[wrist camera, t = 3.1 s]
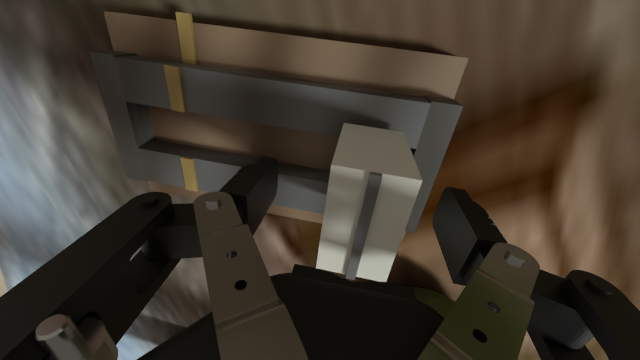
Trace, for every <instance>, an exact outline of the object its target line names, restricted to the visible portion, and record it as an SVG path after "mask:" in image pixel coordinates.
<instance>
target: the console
mask: <svg viewBox="0 0 640 360" xmlns="http://www.w3.org/2000/svg"><path fill="white" fill-rule="evenodd" d="M103 12H104V16H105V20H106V23H107V27H108V31H109V35H110V39H111V43H112V46H113V50H111V51H88V52H89V55H90V58H91V62H92V65H93V68H94V72H95V75H96V78H97V81H98V85H99V88H100V91H101V94H102V98H103V101H104V104H105V107H106V111H107V114H108V117H109V120H110V124H111V127H112V130H113V133H114V137H115V140H116V143H117V146H118V150H119V153H120V156H121V160H122V163H123V166H124V169H125V173H126V176H127V178H132V179H137V180H142V181H148V184H149V187H150V190H153V191H158V192H163V193H168V194H174V195H179V196H184V197H189V198H194V199H196V198H197V197H199V196H200V195H202V194H205V193H208V192H216V191H219V190H220V189H221V188H222V187H223V186H224V185H225V184H226V183H227V182H228V181H229V180H230V179H232V177H233V176H234V175H235V174H236V173H237V172H238V171H239V170H240V169H241V168H242V167H244V166H246V165H249V164H255V163H256V162H257V161H258V160H259V158H260V157H261V156H265V157H271V158H277V159H278V188H277V193H276V196H275V199H274V200H273V202H272V204H271V205H270V207H269V209H268V211H267V212H266V213H271V214H276V215H281V216H286V217H291V218H296V219H301V220H307V221H312V222H317V223H322V224H323V217H324V210H325V203H326V196H327V190H328V183H329V176H330V169H331V164H332V160H333V157H334V154H335V150H336V147H337V144H338V140H339V137H340V134H341V130H342V127H343V124H344V123H349V124H355V125H361V126H368V127H374V128H380V129H387V130H393V131H399V132H404V134H405V136H406V139H407V141H408V144H409V147H410V149H411V152H412V154H413V157H414V160H415V162H416V165H417V167H418V170H419V173H420V175H421V178H422V180H423V181H422V184H421V186H420V189H419V192H418V195H417V198H416V200H415V203H414V206H413V209H412V211H411V214H410V217H409V220H408V223H407V225H406V228H405V231H404V234H403V237H402V239H403V238H404V235H405V232H406V231H407V232H412V233H415V230H416V228H417V225H418V222H419V220H420V217H421V215H422V212H423V209H424V207H425V204H426V202H427V199H428V196H429V194H430V191H431V189H432V186H433V184H434V181H435V178H436V176H437V173H438V171H439V168H440V165H441V163H442V160H443V158H444V155H445V153H446V150H447V147H448V145H449V142H450V140H451V137H452V134H453V132H454V129H455V127H456V124H457V121H458V119H459V116H460V114H461V111H462V109H463V105H461V104H460V103H458V102H457V101H455V100H454V97H455V95H456V92H457V89H458V86H459V84H460V81H461V78H462V75H463V73H464V70H465V67H466V64H467V62H468V59H469V58H465V57H460V56H453V55H445V54H438V53H430V52H422V51H414V50H406V49H399V48H391V47H383V46H375V45H368V44H360V43H352V42H344V41H337V40H329V39H321V38H313V37H305V36H298V35H290V34H282V33H274V32H267V31H259V30H251V29H243V28H236V27H228V26H220V25H212V24H205V23H197V22H192V14H189V13H182V12H175V13H176V20H173V19H166V18H158V17H150V16H142V15H135V14H126V13H117V12H108V11H103Z"/></svg>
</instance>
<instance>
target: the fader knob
mask: <svg viewBox="0 0 640 360" xmlns="http://www.w3.org/2000/svg"><path fill="white" fill-rule="evenodd" d="M422 181H423V180H422V178H421V175H420V173H419V170H418V167H417V165H416V162H415V160H414V157H413V154H412V152H411V149H410V147H409V144H408V141H407V139H406V136H405V134H404V132H399V131H393V130H387V129H380V128H374V127H368V126H361V125H355V124H349V123H344V124H343V127H342V130H341V134H340V137H339V140H338V144H337V147H336V150H335V154H334V157H333V160H332V164H331V169H330V176H329V183H328V190H327V196H326V203H325V210H324V217H323V224H322V230H321V237H320V244H319V251H318V258H317V264H316V268H317V269H322V270H327V271H332V272H336V273H341V274H346V277H345V278H346V279H351V280H355V278H356V277H360V278H365V279H369V280H374V281H379V282H386V281H387V278H388V275H389V273H390V270H391V267H392V264H393V262H394V259H395V256H396V253H397V250H398V248H399V245H400V242H401V239H402V237H403V234H404V231H405V228H406V225H407V223H408V220H409V217H410V214H411V211H412V209H413V206H414V203H415V200H416V198H417V195H418V192H419V189H420V186H421V184H422Z"/></svg>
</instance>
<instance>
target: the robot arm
mask: <svg viewBox="0 0 640 360" xmlns="http://www.w3.org/2000/svg"><path fill="white" fill-rule="evenodd" d="M277 188H278V159H277V158H271V157H265V156H261V157H260V158H259V160H258V161H257V162H256V163H255V164H249V165H246V166H244V167H242V168H241V169H240V170H239V171H238V172H237V173H236V174H235V175H234V176H233V177H232V179H230V180H229V181H228V182H227V183H226V184H225V185H224V186H223V187H222V188H221V189H220V190H219V191H216V192H208V193H205V194H202V195H200V196H199V197H197V198H196V199H195V201H194V203H191V204H172V200H171V197H170V195H168V194H166V193H163V192H150V193H145V194H141V195H139V196H136V197H134V198H133V199H131V200H130V201H128V202H127V203H126V204H124V205H123V206H122V207H120V208H119V209H118V210H116V211H115V212H114V213H112V214H111V215H110V216H108V217H107V218H106V219H104V220H103V221H102V222H100V223H99V224H98V225H96V226H95V227H94V228H92V229H91V230H90V231H88V232H87V233H86V234H84V235H83V236H82V237H80V238H79V239H78V240H76V241H75V242H74V243H72V244H71V245H70V246H68V247H67V248H66V249H64V250H63V251H62V252H60V253H59V254H58V255H56V256H55V257H54V258H52V259H51V260H50V261H48V262H47V263H46V264H44V265H43V266H41V267H40V268H39V269H37V270H36V271H35V272H33V273H32V274H31V275H29V276H28V277H27V278H25V279H24V280H23V281H21V282H20V283H19V284H17V285H16V286H15V287H13V288H12V289H11V290H9V291H8V292H7V293H5V294H4V295H3V296H2V297H0V360H117V358H118V349H117V347H116V344H117V343H118V342H119V340H120V339H121V338H122V336H123V335H124V334H125V332H126V331H127V330H128V329H129V327H130V326H131V325H132V323H133V322H134V321H135V319H136V318H137V317H138V315H139V314H140V313H141V311H142V310H143V309H144V307H145V306H146V305H147V303H148V302H149V301H150V299H151V298H152V297H153V295H154V294H155V293H156V291H157V290H158V289H159V287H160V286H161V285H162V284H163V282H164V281H165V280H166V278H167V277H168V276H169V274H170V273H171V272H172V270H173V269H174V268H175V266H176V265H177V264H178V262H179V261H180V260H181V258H194V257H203V262H204V268H205V273H206V279H207V285H208V290H209V296H210V301H211V307H212V312H210V313H209V314H207V315H206V316H204V317H203V318H201V319H200V320H198V321H196V322H195V323H193V324H192V325H190V326H189V327H187V328H185V329H184V330H182V331H181V332H179V333H178V334H176V335H174V336H173V337H171V338H170V339H168V340H167V341H165V342H164V343H162V344H160V345H159V346H157V347H156V348H154V349H153V350H151V351H149V352H148V353H146V354H145V355H143V356H142V357H140V358H138V359H137V360H517V359H518V356H519V352H520V349H521V346H522V343H523V340H524V336H525V333H526V330H527V331H528V334H529V336H530V338H531V340H532V342H533V344H534V346H535V348H536V350H537V352H538V354H539V356H540V358H541V360H595V359H594V358H593V356H592V355H591V353H590V352H589V350H588V349H587V347H586V346H585V344H586V343H588V342H589V341H590V340H591V339H592V338H593V337H595V338H596V340H597V341H598V343H599V344H600V346H601V347H602V348H603V350H604V351H605V353H606V354H607V356H608V358H609V360H640V311H639V310H638V309H637V308H636V307H635V306H634V305H633V304H632V303H631V302H630V300H629V299H628V298H627V297H626V296H625V295H624V294H623V293H622V292H621V291H620V290H619V289H617V288H616V287H615V286H614V285H612V284H611V283H609V282H608V281H606V280H604V279H602V278H601V277H599V276H596V275H594V274H592V273H589V272H586V271H582V270H573V271H571V272H570V273H569V274H568V275H567V276H566V278H565V279H564V278H561V277H559V276H556V275H553V274H551V273H548V272H546V271H543V270H540V266H539V264H538V262H537V261H536V260H535V258H534V257H532V256H531V255H530V254H529V253H527V252H526V251H524V250H523V249H521V248H519V247H517V246H514V245H511V244H508V243H507V241H506V240H505V238H504V237H503V236H502V234H501V233H500V231H499V230H498V228H497V227H496V225H494V222H493V221H492V220H491V219H490V217H489V215H488V214H487V212H486V211H485V210H484V209H483V208H482V207H481V206H479V205H478V204H477V203H476V202H473V201H472V199H471V198H470V196H469V195H468V193H467V192H466V190H463V189H457V188H451V187H446V188H445V189H444V191H443V193H442V196H441V198H440V201H439V203H438V206H437V208H436V210H435V213H434V216H433V228H434V231H435V233H436V236H437V239H438V242H439V245H440V247H441V250H442V253H443V256H444V259H445V262H446V264H447V267H448V270H449V273H450V276H451V279H452V281H453V283H454V284H459V285H464V286H466V287H465V288H464V290H463V291H462V293H461V295H460V296H459V298H458V299H457V301H456V302H455V304H454V305H453V307H452V308H451V310H450V311H449V313H448V314H447V316H446V317H445V318H444V317H443V316H442V315H441V314H440V313H439V312H437V311H436V310H435V309H433V308H432V307H430V306H429V305H427V304H426V303H424V302H422V301H420V300H418V299H416V298H415V293H414V288H412V287H407V286H402V285H397V284H392V283H387V282H351V281H348V280H346V279H344V278H341V277H339V276H337V275H334V274H332V273H330V272H327V271H325V270H322V269H317V268H312V267H308V266H303V265H298V264H294V267H293V271H292V273H283V274H278V275H274V276H271V277H270V276H269V274H268V272H267V269H266V267H265V264H264V262H263V260H262V257H261V255H260V253H259V250H258V248H257V245H256V243H255V241H254V238H253V235H254V233H255V231H256V230H257V228H258V226H259V224H260V223H261V221H262V219H263V218H264V216H265V214H266V212H267V211H268V209H269V207H270V205H271V204H272V202H273V200H274V199H275V196H276V193H277ZM140 247H141V251H140V252H139V253H138V254H137V255H136V256H135V257H134V258H133V259H132V260H131V261H130V259H131V257H132V255H133V254H134V253H135V252H136V251H137V250H138V249H139V248H140ZM129 261H130V262H129Z"/></svg>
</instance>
